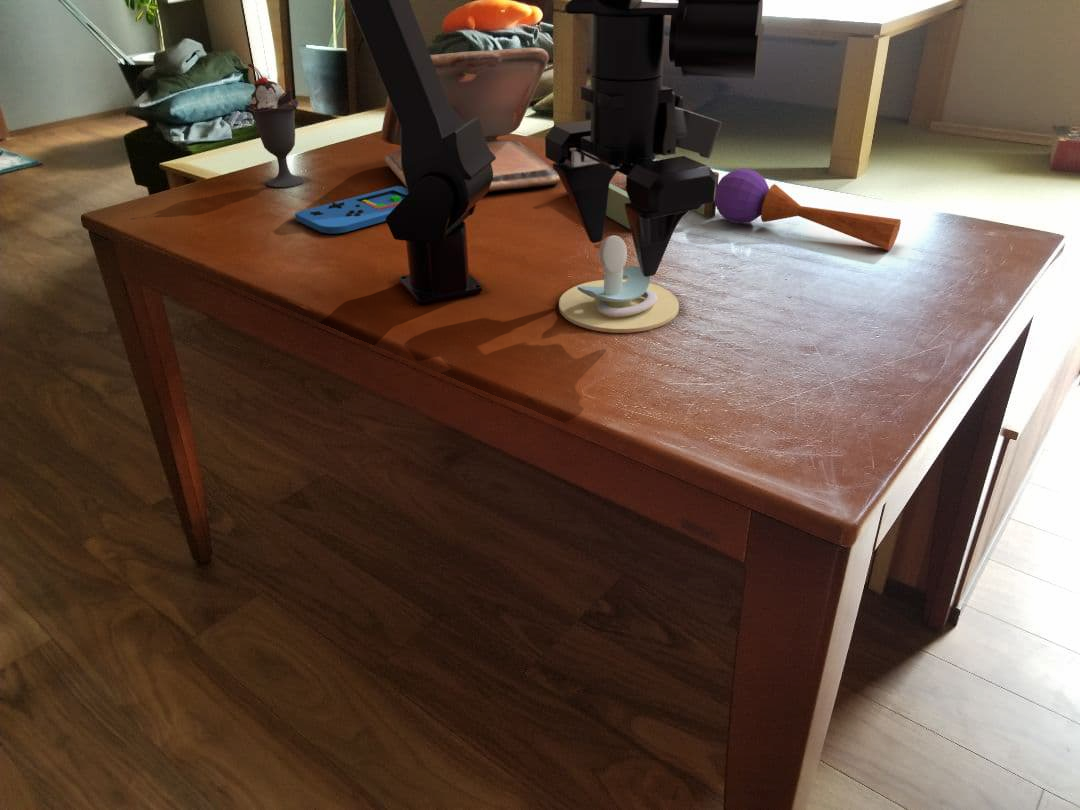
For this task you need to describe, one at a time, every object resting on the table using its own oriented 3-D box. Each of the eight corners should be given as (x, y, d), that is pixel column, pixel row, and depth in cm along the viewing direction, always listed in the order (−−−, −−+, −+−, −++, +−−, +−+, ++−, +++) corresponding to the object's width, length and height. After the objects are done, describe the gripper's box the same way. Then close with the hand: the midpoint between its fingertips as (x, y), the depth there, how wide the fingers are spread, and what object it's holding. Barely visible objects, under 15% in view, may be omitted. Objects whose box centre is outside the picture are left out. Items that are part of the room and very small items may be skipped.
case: (517, 147, 128) (514, 30, 120) (570, 185, 111) (570, 52, 103) (380, 161, 122) (367, 39, 114) (413, 204, 105) (401, 64, 97)
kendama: (891, 223, 86) (707, 177, 95) (878, 273, 90) (703, 225, 99) (910, 196, 89) (731, 154, 98) (897, 246, 93) (726, 201, 102)
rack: (717, 216, 101) (721, 173, 98) (634, 232, 96) (636, 188, 94) (643, 180, 113) (644, 141, 110) (567, 193, 109) (566, 153, 106)
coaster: (702, 316, 78) (702, 312, 78) (595, 343, 74) (595, 339, 73) (638, 274, 86) (638, 271, 86) (538, 296, 82) (538, 292, 82)
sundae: (255, 179, 117) (232, 61, 109) (305, 172, 119) (286, 56, 112) (264, 192, 112) (240, 70, 104) (316, 185, 114) (296, 64, 106)
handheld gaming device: (292, 210, 102) (399, 182, 110) (294, 219, 102) (400, 191, 111) (328, 227, 96) (437, 197, 105) (330, 237, 97) (438, 206, 105)
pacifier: (671, 304, 79) (624, 283, 83) (677, 239, 76) (627, 221, 80) (615, 328, 75) (568, 306, 79) (619, 262, 72) (569, 241, 76)
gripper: (783, 83, 65) (760, 276, 73) (649, 48, 80) (642, 213, 88) (657, 100, 61) (647, 303, 69) (540, 60, 75) (544, 232, 84)
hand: (621, 258), depth 77 cm, fingers open, 9 cm apart
